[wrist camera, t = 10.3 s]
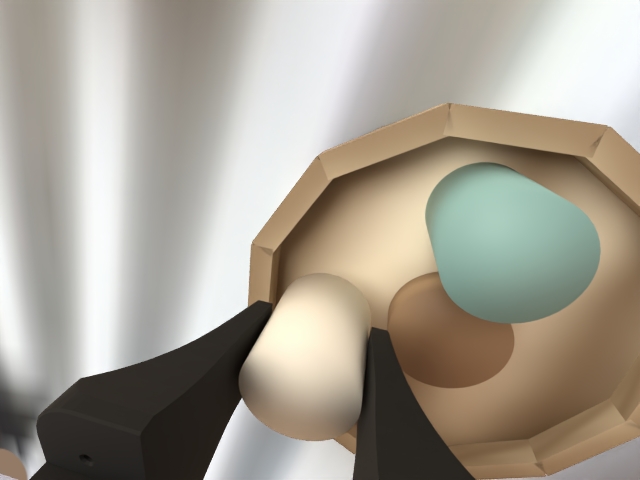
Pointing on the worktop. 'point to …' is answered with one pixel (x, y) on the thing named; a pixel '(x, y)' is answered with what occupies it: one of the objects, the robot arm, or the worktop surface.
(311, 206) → the ring tray
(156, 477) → the robot arm
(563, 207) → the bead teal
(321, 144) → the worktop surface
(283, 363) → the bead cream
